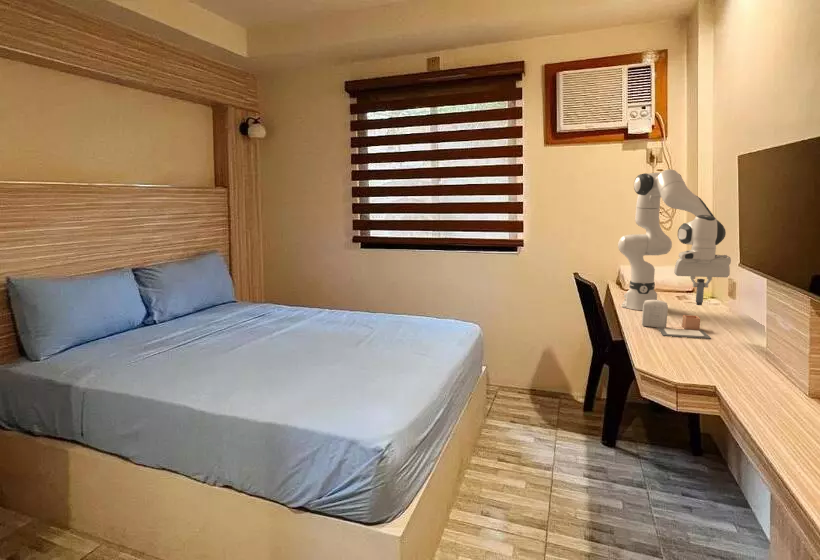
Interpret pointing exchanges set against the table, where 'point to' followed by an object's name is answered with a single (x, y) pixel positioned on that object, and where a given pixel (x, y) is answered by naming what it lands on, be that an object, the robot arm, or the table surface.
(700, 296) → the marker
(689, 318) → the pen holder
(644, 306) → the photo printer
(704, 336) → the writing board
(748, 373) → the table surface
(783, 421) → the table surface
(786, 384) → the table surface
